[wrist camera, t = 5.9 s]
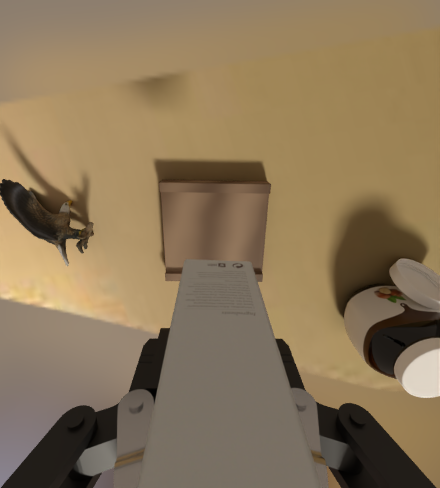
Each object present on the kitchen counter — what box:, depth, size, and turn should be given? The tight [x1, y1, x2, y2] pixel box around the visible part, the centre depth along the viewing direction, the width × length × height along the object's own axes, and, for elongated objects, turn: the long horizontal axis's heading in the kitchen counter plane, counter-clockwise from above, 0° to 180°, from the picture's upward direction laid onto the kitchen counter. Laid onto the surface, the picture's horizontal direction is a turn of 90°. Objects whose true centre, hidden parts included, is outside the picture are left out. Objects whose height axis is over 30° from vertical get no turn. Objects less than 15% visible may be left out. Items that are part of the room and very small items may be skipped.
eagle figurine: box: [0, 179, 94, 266], centre depth 29 cm, size 8×7×9 cm
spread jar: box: [344, 258, 440, 398], centre depth 31 cm, size 12×11×12 cm
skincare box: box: [137, 259, 322, 488], centre depth 12 cm, size 6×4×12 cm
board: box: [159, 180, 271, 282], centre depth 32 cm, size 12×12×2 cm
